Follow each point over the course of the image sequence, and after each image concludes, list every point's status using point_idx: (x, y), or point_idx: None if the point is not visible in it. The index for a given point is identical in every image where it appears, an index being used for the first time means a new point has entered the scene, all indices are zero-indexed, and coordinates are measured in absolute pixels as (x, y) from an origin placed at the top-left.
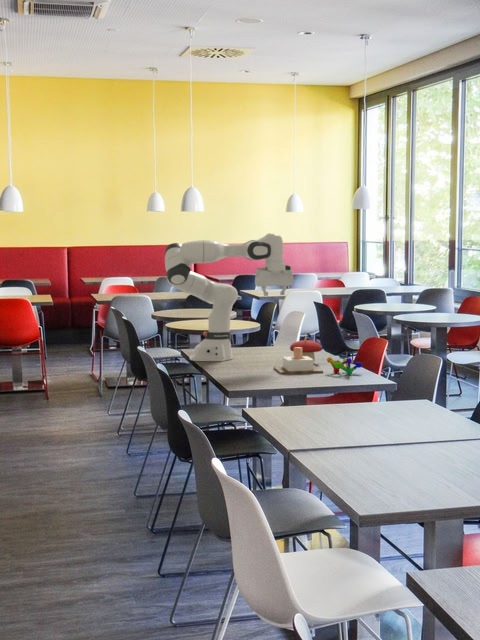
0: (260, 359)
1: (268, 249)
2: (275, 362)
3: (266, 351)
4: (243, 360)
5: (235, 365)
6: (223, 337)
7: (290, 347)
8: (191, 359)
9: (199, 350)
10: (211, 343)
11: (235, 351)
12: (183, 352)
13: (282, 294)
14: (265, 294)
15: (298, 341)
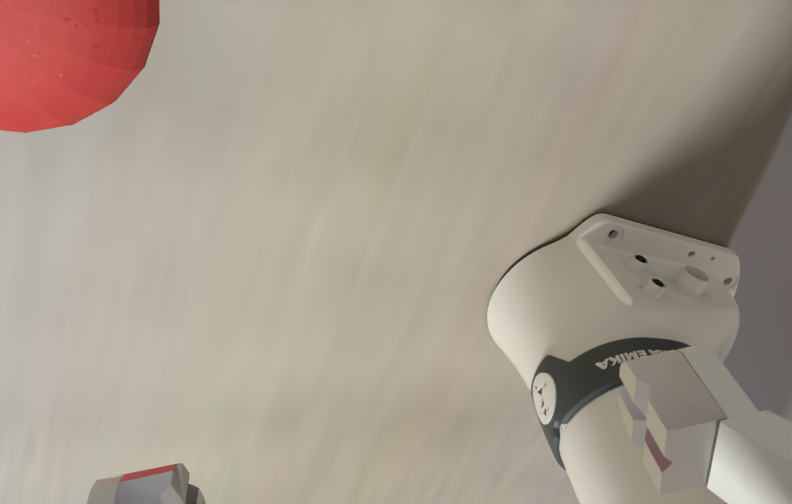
0: (345, 228)
1: None
2: (283, 75)
3: (222, 466)
4: (464, 217)
5: (610, 26)
6: (632, 346)
7: (156, 4)
8: (736, 280)
9: (731, 301)
10: (688, 324)
11: (383, 484)
12: None
13: (158, 472)
14: (719, 362)
15: (47, 7)
